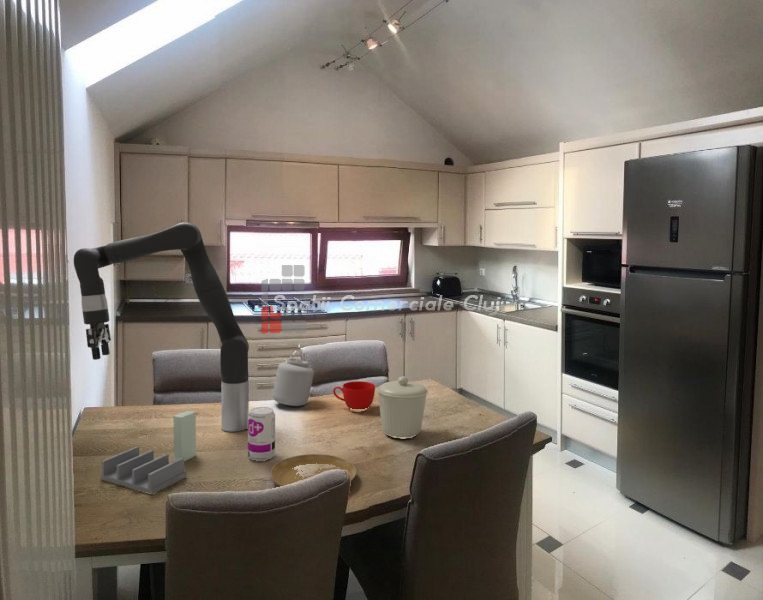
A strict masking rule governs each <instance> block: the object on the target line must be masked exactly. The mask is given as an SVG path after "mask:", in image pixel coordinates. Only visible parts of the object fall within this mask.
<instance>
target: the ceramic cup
mask: <svg viewBox="0 0 763 600" xmlns="http://www.w3.org/2000/svg"><path fill="white" fill-rule="evenodd" d="M336 390H340V391H341V392H342V396H343V397H340V396H339V395H337V393H336ZM375 392H376V385H375V384H374V383H372V382H368V381H363V380H362V381H361V380H359V381H358V380H355V381H348V382H345V383H343V384H342V387H341V386H335V387H334V388H333V391H332V393H333V395H334V396H335V398H337V399H338V400H341V401H342V402H345V403H344V404H345V405H346V406H347V408H348V407H349V408H352V409H365V408H368V407H369V408H370V407H371V406H372V404H373V402H374V398H375ZM349 408H348V409H349ZM369 408H368V409H369Z"/></svg>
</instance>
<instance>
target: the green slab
mask: <svg viewBox="0 0 763 600" xmlns="http://www.w3.org/2000/svg"><path fill="white" fill-rule="evenodd" d="M196 416H197V415H196V411H192V410H186V411H183V412H181V413H177V414H175V415H173V422H172V423H173V462H174V461H176V460H178V459H180V458H184V462H186V461H188V460H190V459H191V458H194V457H195V456H196V455H197V429H196V426H197V423H196V420H197V418H196Z"/></svg>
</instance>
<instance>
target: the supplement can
mask: <svg viewBox="0 0 763 600" xmlns="http://www.w3.org/2000/svg"><path fill="white" fill-rule="evenodd" d="M275 455H276V413H275V412H274V409H273V408H271V407H267V406H260V407H259V406H258V407H253V408H252V409H249V415H248V430H247V457H248V458H249V459H250V460H251V459H252V460H251V461H253V460H256V461H255V462H257V461H263V462H265V461H264V460H268V459H270V460H271V458H272V457H273V458H274V457H275ZM273 458H272V459H273ZM268 461H269V460H268Z"/></svg>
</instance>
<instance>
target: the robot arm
mask: <svg viewBox="0 0 763 600" xmlns="http://www.w3.org/2000/svg"><path fill="white" fill-rule="evenodd" d="M203 240H204V239H203V237H202V232H201V231H200V228H199V227H198V226H196V225H195V224H194V223H191V222H187V221H184V222H183V221H182V222H179V223H176V224H175V225H173V226H171V227H168V228H166V229H163V230H161V231H157V232H155V233H151V234H146V235H141V236H136V237H131V238H126V239H120V240H117V241H113V242H110V243H107V244H106V245H102V246H98V247H93V248H91V247H90V248H88V247H86V248H85V247H83V248H80V249H78V250H77V251H76V252H75V253H74V255H73V267H74V270H75V273H76V276H77V279H78V281H79V287H80V289H79V290H80V294H81V310H82V318H83V324H85V325H89V328H86V329H85V333H86V334H85V337H86V345H87V348H90V350H91V355H92V360H94V361H96V360H100V359H102V358H101V357H102V356H108V355H110V346H109V345H110V344H109V343H110V341H111V340H112V338H111V331H110V325H109V323H108V322H110V313H109V305H108V300H107V297H106V290H105V284H104V280H103V278H102V277H101V276H100V272H99V269H102V268H104V267H109V266H111V265H115V264H120V263H124V262H129V261H133V260H137V259H140V258H143V257H147V256H150V255H153V254H155V253H156V254H157V253H160V252H167V251H174V250H175V251H177V250H179V251H181V253H182V255H183V257H184V259H185V261H186V263H187V265H188V268H189V272H190V277H191V281H192V285H193V289H194V291H195V294H196V297H197V299H198V301H199V303H200V305H201V308H203V311H204V312H205V314H206V315H207V316H208V318H209V320H211V321H212V323H213V325H214V326H215V328H216V331H217V334H218V336H219V339H220V342H221V346H220V353H219V356H220V375H221V376H220V379H221V380H220V381H221V384H220V385H221V394H220V395H221V423H220V424H221V429H222V430H223V431H224V432H230V433H231V432H232V433H233V432H234V433H235V432H236V433H237V432H241V430H242V431H244V429H248V415H249V413H250V402H249V400H250V399H249V349H250V344H249V342H248V339H247V337H246V336H245V334H244V333H243V331H242V329H241V327H240V325H239V324H238V322H237V320H236V318H235V315H234V311H233V308H232V305H231V303H230V300H229V297H228V295H227V292H226V290H225V287H224V285H223V283H222V281H221V278H220V276H219V275H218V272H217V271H216V269H215V267H214V265H213V264H212V262H211V260H210V257H209V256H208V252H207V250H206V247H205V244H204V241H203ZM100 348H101V349H100ZM101 355H102V356H101Z"/></svg>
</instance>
